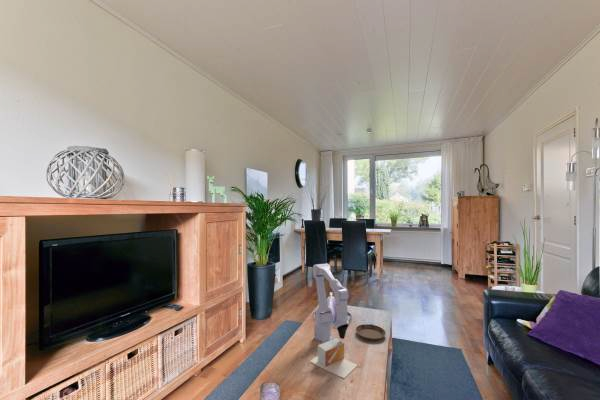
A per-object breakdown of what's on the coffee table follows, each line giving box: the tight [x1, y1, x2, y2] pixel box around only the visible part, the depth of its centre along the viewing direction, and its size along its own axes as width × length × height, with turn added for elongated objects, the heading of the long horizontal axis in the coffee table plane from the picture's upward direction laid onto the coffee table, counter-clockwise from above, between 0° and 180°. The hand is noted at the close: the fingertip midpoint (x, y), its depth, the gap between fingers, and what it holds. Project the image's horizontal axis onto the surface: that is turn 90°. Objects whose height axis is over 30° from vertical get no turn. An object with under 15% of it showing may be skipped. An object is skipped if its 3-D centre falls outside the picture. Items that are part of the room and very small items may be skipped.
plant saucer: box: [355, 323, 387, 342], centre depth 163 cm, size 18×18×3 cm
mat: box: [309, 355, 358, 380], centre depth 134 cm, size 20×13×1 cm, turn 49°
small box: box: [317, 338, 345, 367], centre depth 137 cm, size 8×6×13 cm
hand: (342, 337), depth 140 cm, fingers closed
